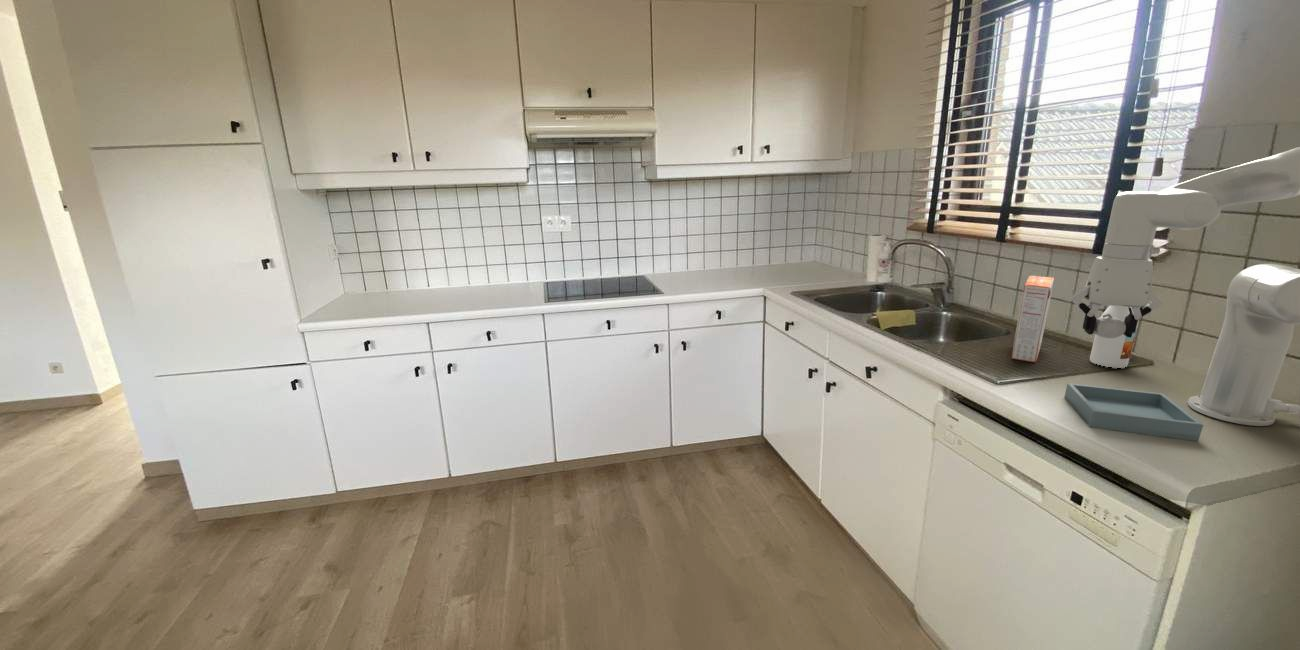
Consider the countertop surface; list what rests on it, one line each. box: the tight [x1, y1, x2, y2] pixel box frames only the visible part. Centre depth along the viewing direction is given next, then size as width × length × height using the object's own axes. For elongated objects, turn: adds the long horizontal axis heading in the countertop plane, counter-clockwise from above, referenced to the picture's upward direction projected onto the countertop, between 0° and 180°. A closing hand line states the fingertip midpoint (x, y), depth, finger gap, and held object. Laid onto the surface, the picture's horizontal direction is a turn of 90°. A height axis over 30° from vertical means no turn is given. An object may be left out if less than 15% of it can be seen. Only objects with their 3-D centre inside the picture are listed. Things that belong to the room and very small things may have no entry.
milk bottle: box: [1089, 305, 1139, 369], centre depth 136 cm, size 8×8×20 cm
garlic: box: [1093, 314, 1126, 338], centre depth 115 cm, size 6×5×5 cm
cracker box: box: [1011, 275, 1055, 363], centre depth 144 cm, size 14×6×21 cm, turn 141°
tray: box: [1064, 382, 1204, 442], centre depth 110 cm, size 17×15×4 cm
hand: (1107, 333), depth 116 cm, fingers closed on garlic, 6 cm apart
